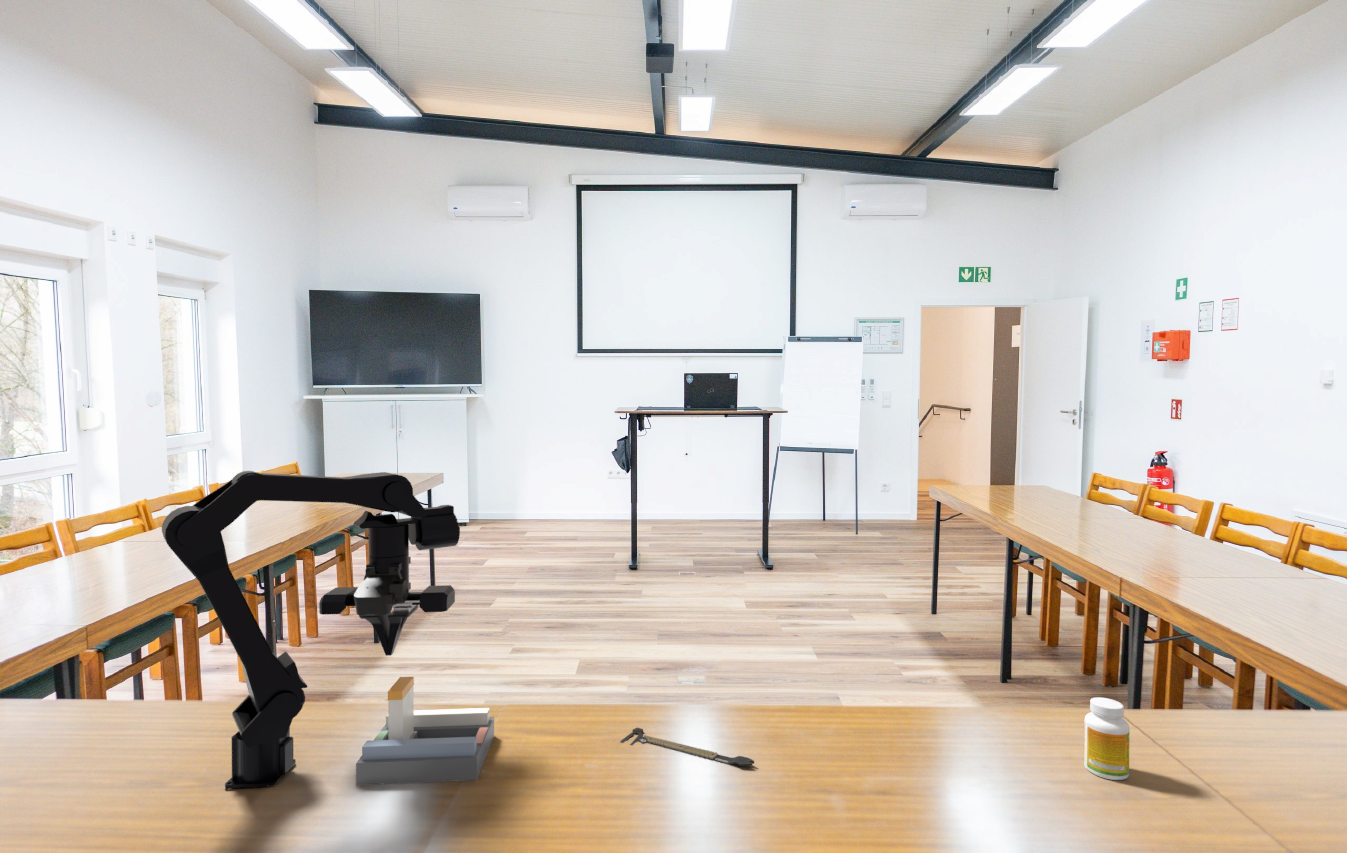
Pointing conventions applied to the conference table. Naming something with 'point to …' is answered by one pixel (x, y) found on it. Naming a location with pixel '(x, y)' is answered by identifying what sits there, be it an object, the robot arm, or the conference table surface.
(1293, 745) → the conference table surface
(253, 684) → the robot arm
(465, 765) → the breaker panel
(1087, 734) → the supplement bottle
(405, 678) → the handle
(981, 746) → the conference table surface
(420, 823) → the conference table surface
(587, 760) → the conference table surface
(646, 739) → the tactical tomahawk
